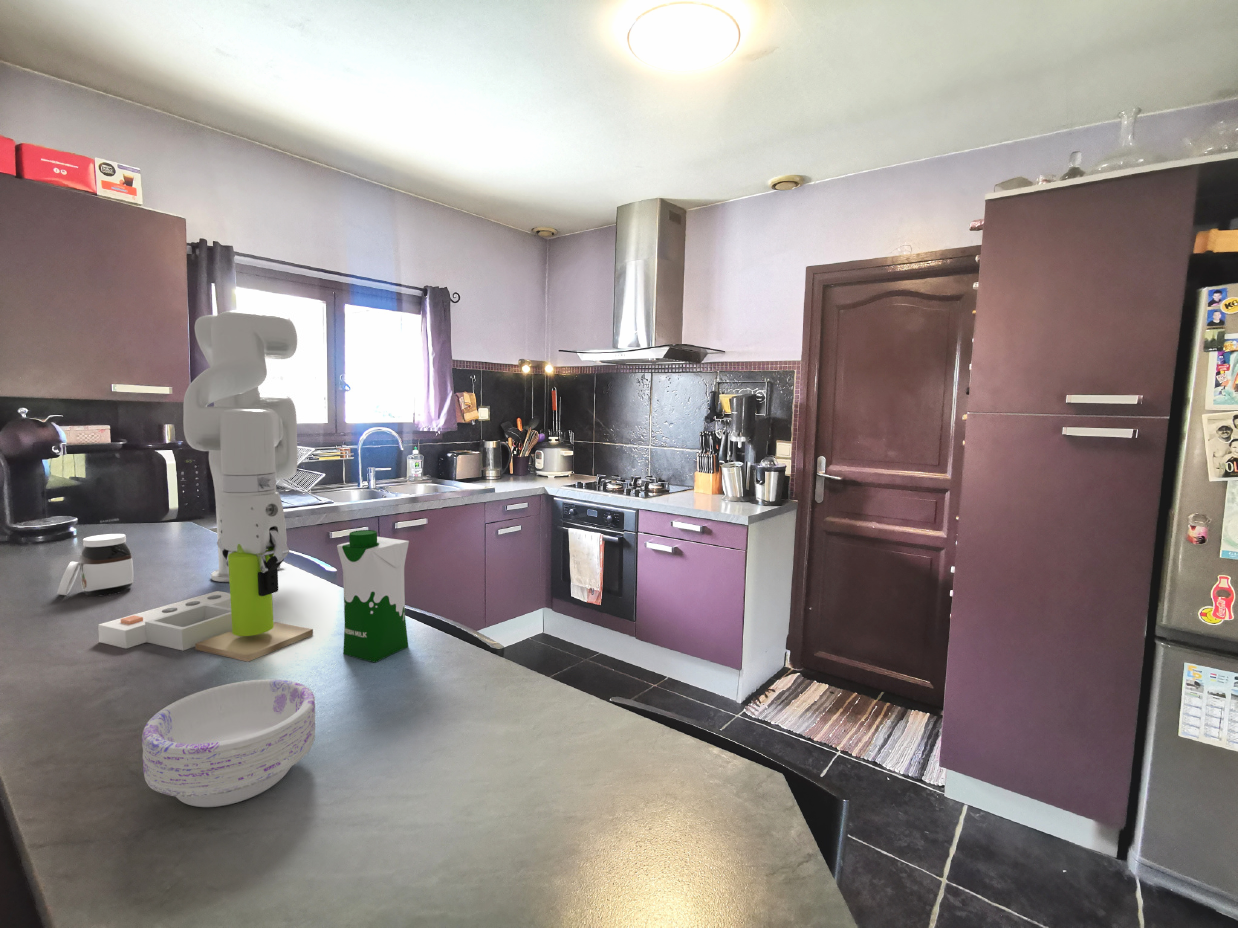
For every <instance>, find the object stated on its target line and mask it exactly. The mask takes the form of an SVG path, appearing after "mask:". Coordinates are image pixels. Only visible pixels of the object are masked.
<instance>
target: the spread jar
mask: <svg viewBox="0 0 1238 928" xmlns="http://www.w3.org/2000/svg"><path fill="white" fill-rule="evenodd" d="M126 541H127V537H126V534H124V533H109V534H108V533H107V534H98V535H91V536H87V537H85V538H83V539H82V544H83V549H82V550H81V552H80V554H79V561H70V562H69V563H68V566H67V567H66V569H65V571H64V572H63V575H62V577H61V580H60V583H59V585H58V588H57V595H60V596H61V595H62V596H68V594H69V593H70V591H71V589H72V588H73V585H74V583H75V581H76V579H77V576H78V573H79V575H80V584H81V589H82V591H83V593H84V594H85V595H87V596H89V595H90V596H91V597H100V596H99V595H103V596H109V594H111V595H115V593H116V594H119V593H118V592H120V593H123V592H126V591H128V590H130V589H131V588H132V586H133V584H134V563H133V555H132V552H131V549H130V547H129V546H128V545H127V543H126ZM125 590H126V591H125ZM90 596H89V597H90Z"/></svg>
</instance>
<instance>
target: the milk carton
mask: <svg viewBox="0 0 1238 928" xmlns="http://www.w3.org/2000/svg"><path fill="white" fill-rule="evenodd" d="M348 535H349V536H348V537H349V539H348V540H349V542H344V543H341V544H340V543H339V544H338V545H337V546H336V548H337V553H338V556H339V559H340V564H341V568H342V578H343V610H344V611H343V617H344V627H343V628H344V631H343V652H342V653H343V655H345V656H348V657H352V658H357V659H360V660H364V661H368V662H371V663H376V662H380V661H381V660H383V659H385V658H387V657H389V656H391V655H393V654H396V653H398V652H399V651H402V650H405V649H406V648H408V647H409V640H408V631H407V623H406V602H405V601H406V599H405V595H406V594H405V563H406V558H407V552H408V548H409V543H410V540H405V539H404V540H403V539H396V538H389V537H383V536H382V537H381V536H378V531H377V530H374V529H361V530H354V531H350V532H349V534H348Z"/></svg>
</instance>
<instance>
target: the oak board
mask: <svg viewBox="0 0 1238 928" xmlns="http://www.w3.org/2000/svg"><path fill="white" fill-rule="evenodd" d="M273 623H274V627H273V628H272V629H271V630H269V631H267V632H264V633H261V634H257V635H252V636H236V635H234V634H233V633H232V631H230V632H227V633H224V634H221V635H218V636H216V637H213V638H210V639H207V640H204V641H201V642H199V643H196V644H195V646H194V648H195V650H196V651H200V652H205V653H209V654H214V655H218V656H221V657H227V658H231V659H235V660H240V661H244V662H251V661H253V660H256V659H258V658H261V657H262V656H265V655H268V654H270V653H273V652H275V651H278V650H279V649H282V648H284V647H287V646H290V645H292V644H294V643H296V642H299V641H301V640H304V639H306V638H308V637H312V636H314V630H313V628H308V627H304V626H297V625H293V624H287V623H284V622H277V621H273Z"/></svg>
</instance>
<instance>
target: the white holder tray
mask: <svg viewBox="0 0 1238 928" xmlns="http://www.w3.org/2000/svg"><path fill="white" fill-rule="evenodd" d="M97 631H98V642H99V643H102V644H107V645H110V646H114V647H117V648H122V649H130V648H132V647H135V646H139V645H141V644H144V643H149V644H153V645H157V646H161V647H165V648H171V649H175V650H179V651H183V652H184V651H186V650H189V649H192V648H195V644H196V643H199V642H201V641H204V640H207V639H210V638H213V637H216V636H218V635H221V634H224V633H227V632H230V631H232V617H231V599H230V592H225V591H220V590H217V591H212V592H209V593H206V594H205V593H204V594H202V595H198V596H195V597H191V598H188V599H184V600H181V601H180V600H179V601H178V602H174V603H170V604H166V605H163V606H160V607H157V608H151V609H149V610H145V611H143V612H142V611H141V612H138V613H134V614H131V615H127V616H124V617H120V618H117V619H113V620H110V621H105V622H103V623H99V624H98V630H97Z"/></svg>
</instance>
